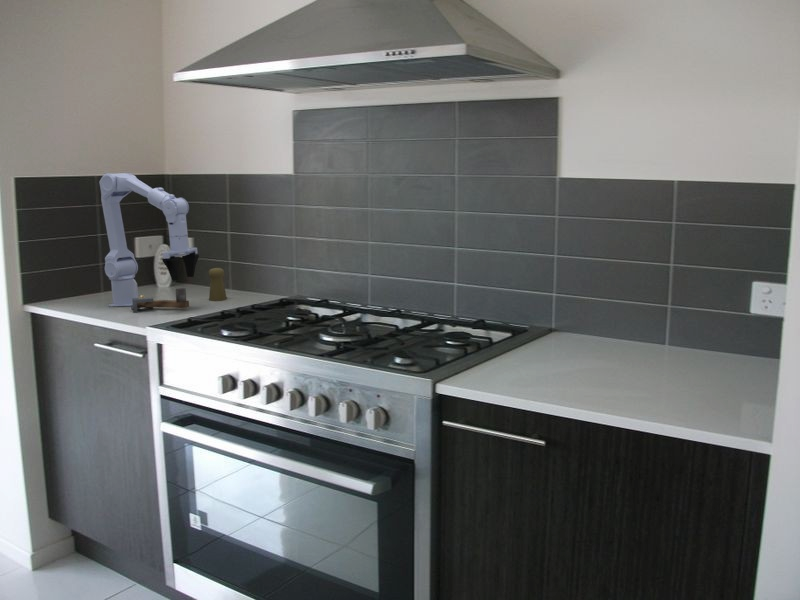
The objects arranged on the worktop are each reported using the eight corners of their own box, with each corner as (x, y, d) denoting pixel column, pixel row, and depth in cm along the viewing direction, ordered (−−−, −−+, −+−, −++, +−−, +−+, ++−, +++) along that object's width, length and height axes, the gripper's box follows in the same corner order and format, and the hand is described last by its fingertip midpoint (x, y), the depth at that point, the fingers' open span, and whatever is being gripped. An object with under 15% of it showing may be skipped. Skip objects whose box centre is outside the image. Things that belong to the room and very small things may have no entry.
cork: (216, 301, 274) (215, 269, 272) (205, 300, 277) (203, 268, 275) (230, 299, 278) (228, 267, 276) (219, 297, 282) (217, 266, 280)
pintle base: (135, 306, 266) (134, 293, 265) (156, 306, 266) (155, 293, 265) (128, 310, 259) (127, 297, 259) (149, 310, 259) (148, 297, 258)
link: (132, 307, 261) (131, 289, 260) (139, 304, 265) (138, 287, 264) (184, 308, 257) (183, 290, 256) (190, 306, 261) (189, 288, 260)
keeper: (133, 311, 258) (132, 298, 258) (153, 309, 260) (153, 297, 260) (133, 312, 256) (132, 299, 255) (154, 311, 258) (153, 298, 257)
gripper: (173, 238, 247) (177, 281, 249) (203, 233, 260) (207, 275, 262) (155, 238, 250) (160, 281, 252) (185, 234, 263) (190, 275, 265)
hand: (183, 278), depth 257 cm, fingers open, 7 cm apart
